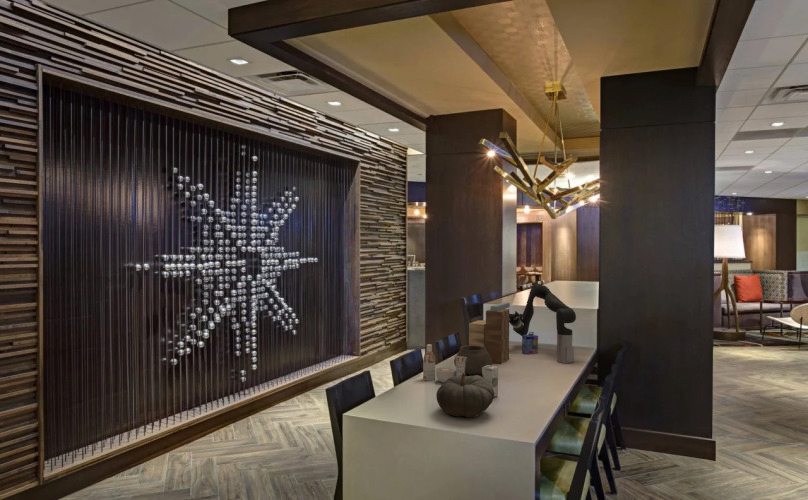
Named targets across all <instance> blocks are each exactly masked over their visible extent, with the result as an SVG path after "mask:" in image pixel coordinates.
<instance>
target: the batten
mask: <svg viewBox="0 0 808 500" xmlns="http://www.w3.org/2000/svg"><path fill="white" fill-rule="evenodd" d="M490 309H491V311H496V312H497V311H500V310H503V309H510V302H507V301H506V302H504V301H503V302H501V303H497V304H493V305H490Z"/></svg>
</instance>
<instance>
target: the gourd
mask: <svg viewBox="0 0 808 500" xmlns="http://www.w3.org/2000/svg"><path fill="white" fill-rule="evenodd" d="M494 398H495V397H494V390H493V388H492V386H491V384H490V383H489V382H487V381H486V380H485V379H483V378H482V375H480V374H479V375H469V376H467V375H466V374H465V375H464V373H462V377H461V376H456V375H454V376H453V377H450V378H449V379H447V380H446V381H445V382H444V383H443V382H442V384H441V385H440V387H438V389H437V391H436V401H437V404H438V406H439V408H440V409H441V410H442V411H443V412H444V413H445V414H448V415H449V416H452V417H453V416H454V417H465V418H475V417H477V416H479V415H481V414H482V413H483V412H485V411H486V410H487V409H488V408H489V407H490V405H491V404H492V402H493V400H494Z"/></svg>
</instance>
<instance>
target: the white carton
mask: <svg viewBox="0 0 808 500" xmlns="http://www.w3.org/2000/svg"><path fill="white" fill-rule="evenodd" d="M481 377H482V378H483V379H485V380H486V381H487V382H489V383H490V384H491V386H492V388H493V390H494V398H496V397H498V394H499V393H498V392H499V367H498V366H496V365H493V364H492V365H487V366H484V367H482V374H481Z"/></svg>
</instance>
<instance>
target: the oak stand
mask: <svg viewBox="0 0 808 500" xmlns="http://www.w3.org/2000/svg"><path fill="white" fill-rule="evenodd" d="M468 328H469V329H468V345H477V346H482V347H485V348H486V320H481V319H478V320H475V321H472V322H469V324H468Z"/></svg>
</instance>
